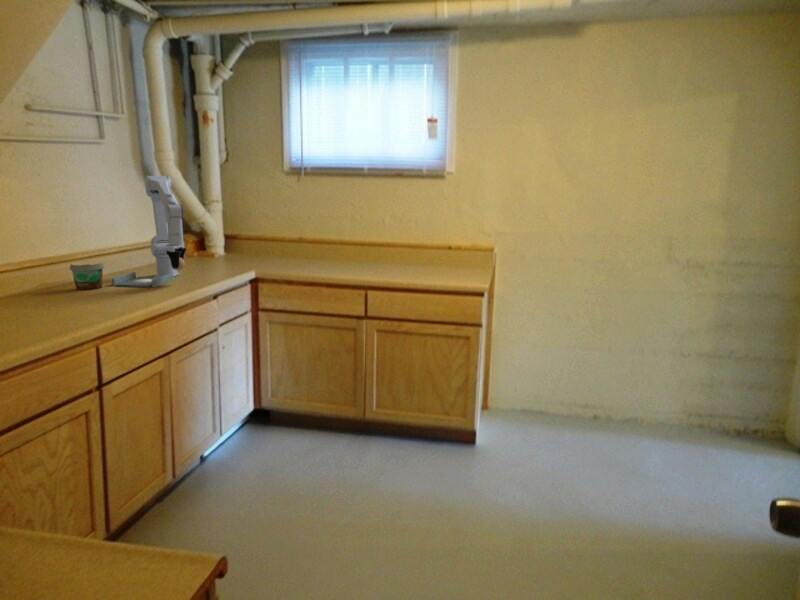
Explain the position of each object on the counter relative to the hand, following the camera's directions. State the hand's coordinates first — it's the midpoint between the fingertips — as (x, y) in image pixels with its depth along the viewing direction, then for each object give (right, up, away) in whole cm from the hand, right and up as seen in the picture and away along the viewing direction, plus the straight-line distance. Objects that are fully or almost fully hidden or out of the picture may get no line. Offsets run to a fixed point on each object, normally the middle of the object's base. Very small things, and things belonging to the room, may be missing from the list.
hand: (177, 266), depth 240 cm
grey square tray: (-15, -7, +3) cm, 17 cm away
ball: (0, +1, 0) cm, 1 cm away
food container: (-32, -10, -11) cm, 35 cm away
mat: (-15, -7, +3) cm, 17 cm away
